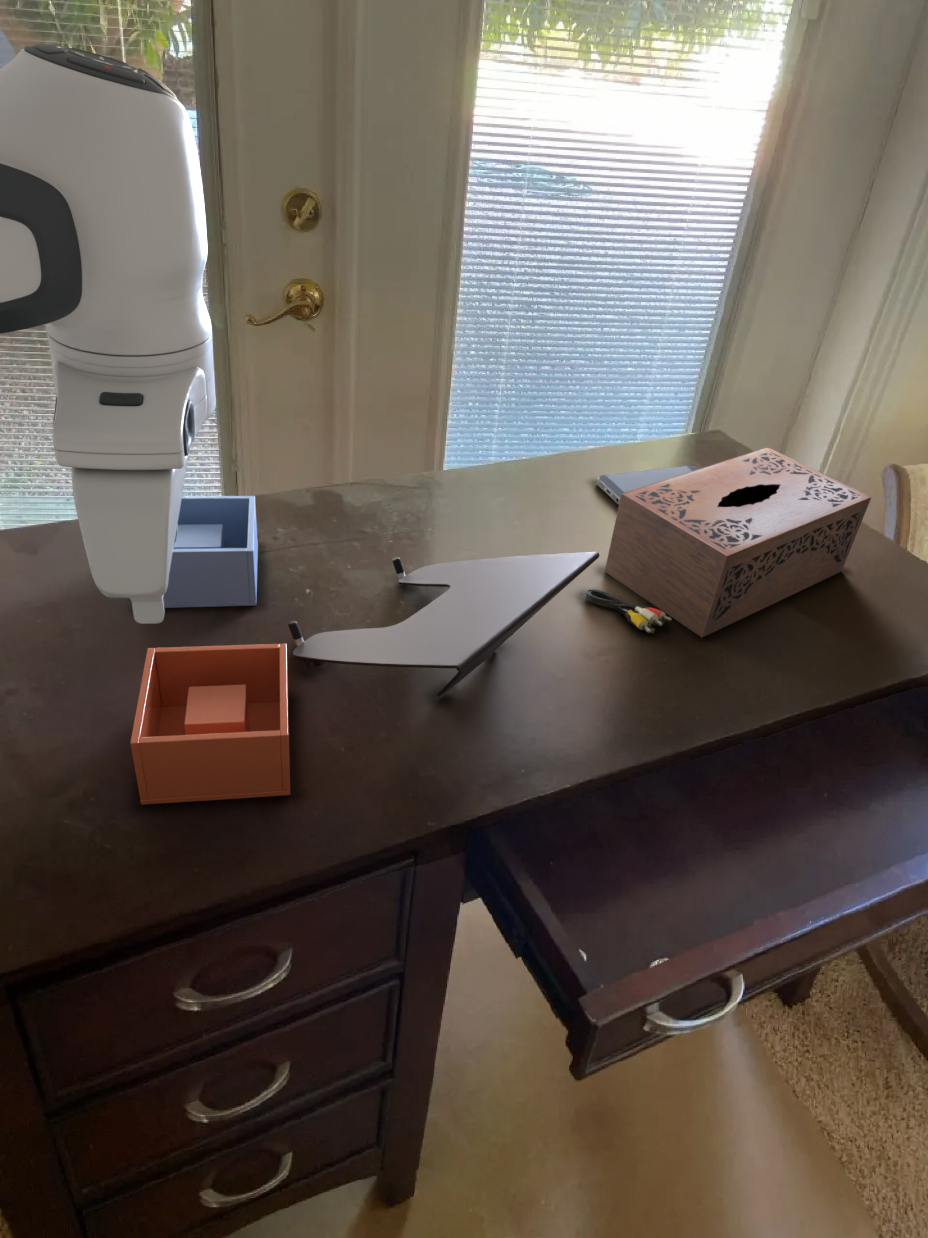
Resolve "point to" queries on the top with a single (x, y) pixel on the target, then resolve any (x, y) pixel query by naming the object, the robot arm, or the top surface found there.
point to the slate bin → (216, 555)
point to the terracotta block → (216, 710)
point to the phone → (637, 480)
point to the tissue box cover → (733, 537)
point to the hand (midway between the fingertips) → (158, 576)
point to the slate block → (200, 537)
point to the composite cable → (629, 610)
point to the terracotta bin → (212, 760)
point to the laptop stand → (452, 614)
